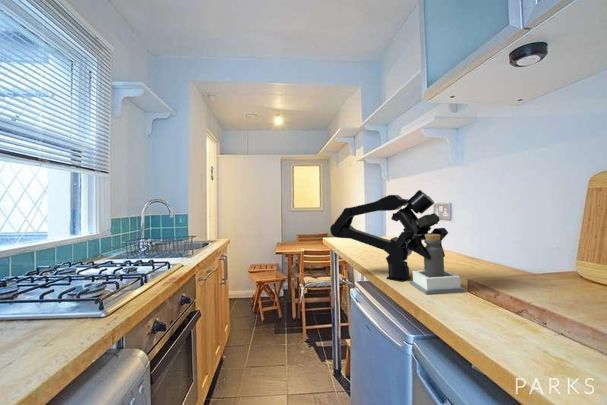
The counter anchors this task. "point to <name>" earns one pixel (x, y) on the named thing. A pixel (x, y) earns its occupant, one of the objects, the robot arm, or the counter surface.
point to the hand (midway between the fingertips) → (437, 257)
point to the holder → (436, 283)
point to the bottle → (434, 256)
